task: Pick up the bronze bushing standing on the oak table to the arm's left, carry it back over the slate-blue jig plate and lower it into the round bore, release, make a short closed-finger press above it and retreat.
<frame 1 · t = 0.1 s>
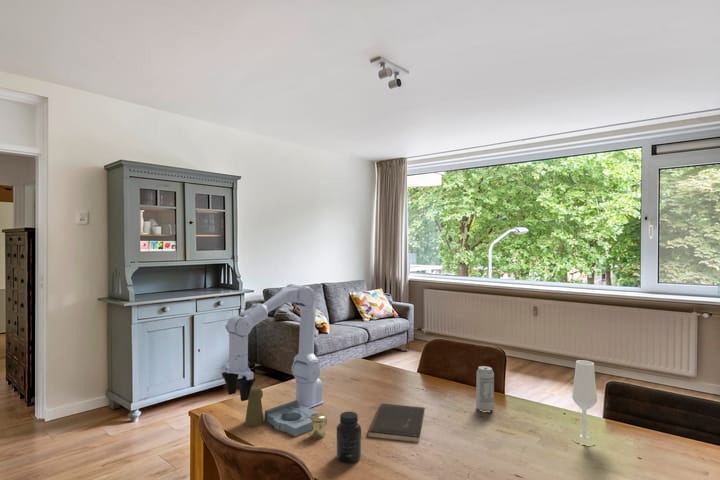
hand: (238, 397, 137), 10 cm above the table, fingers open, 7 cm apart
olive green tapered piece: (254, 423, 142), on the table
energy drink can: (484, 410, 154), on the table
jig: (295, 422, 142), on the table
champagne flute: (583, 442, 131), on the table
bushing: (318, 435, 133), on the table
hardcover book: (397, 426, 142), on the table
supplement bottle: (348, 458, 120), on the table
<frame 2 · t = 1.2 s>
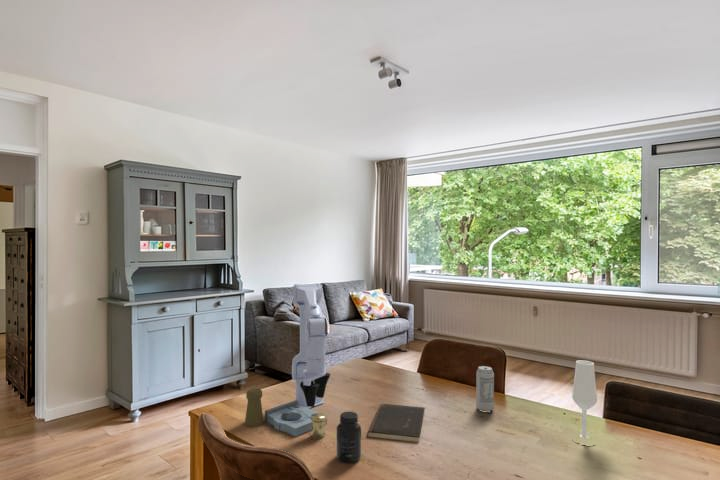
hand: (315, 401, 133), 10 cm above the table, fingers open, 7 cm apart
nothing on the table moved.
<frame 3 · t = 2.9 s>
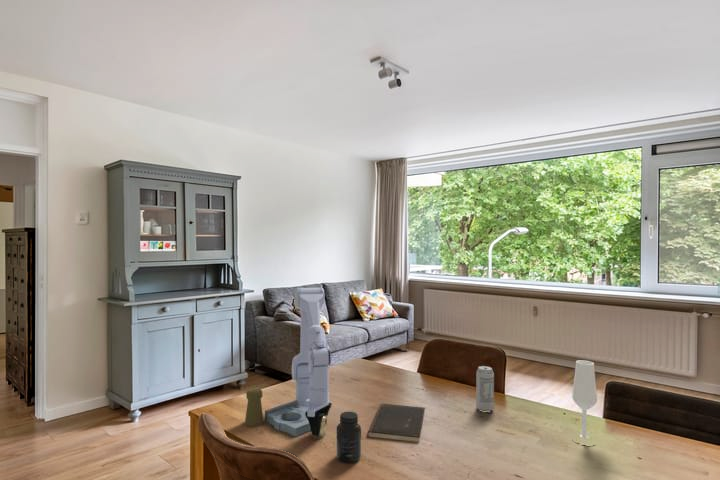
hand: (318, 431, 133), 1 cm above the table, fingers closed on bushing, 5 cm apart
bushing: (318, 435, 133), on the table, touching gripper
everything else where it was.
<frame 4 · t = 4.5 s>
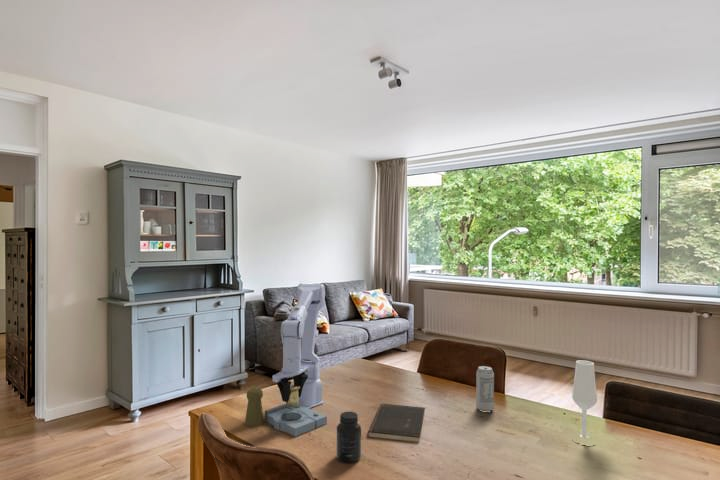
hand: (291, 398, 141), 8 cm above the table, fingers closed on bushing, 5 cm apart
bushing: (292, 405, 140), point 7 cm above the table, tilted 9°, touching gripper
everything else where it was.
when the fingers open (3 cm above the table, at t = 6.3 s): bushing drops 1 cm, resting in jig.
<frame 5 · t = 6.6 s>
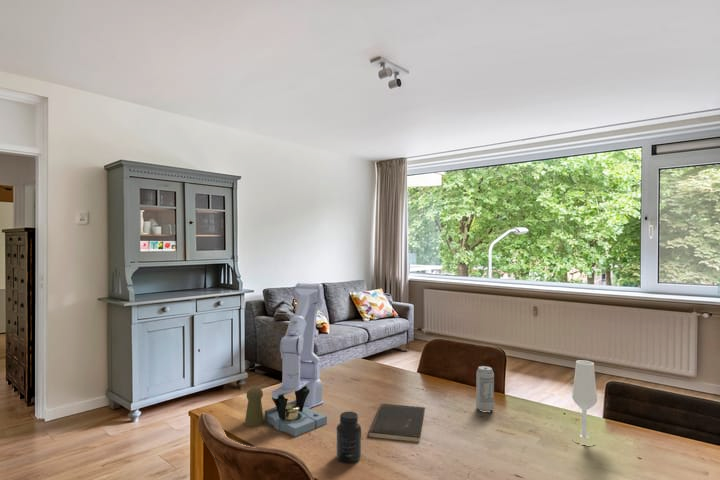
hand: (290, 414, 141), 3 cm above the table, fingers open, 7 cm apart
bushing: (291, 425, 140), resting in jig
everything else where it was.
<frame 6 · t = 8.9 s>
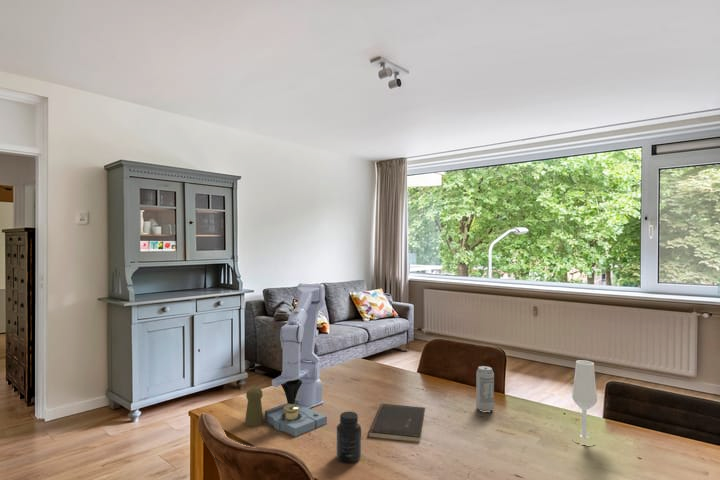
hand: (291, 403, 141), 7 cm above the table, fingers closed
nothing on the table moved.
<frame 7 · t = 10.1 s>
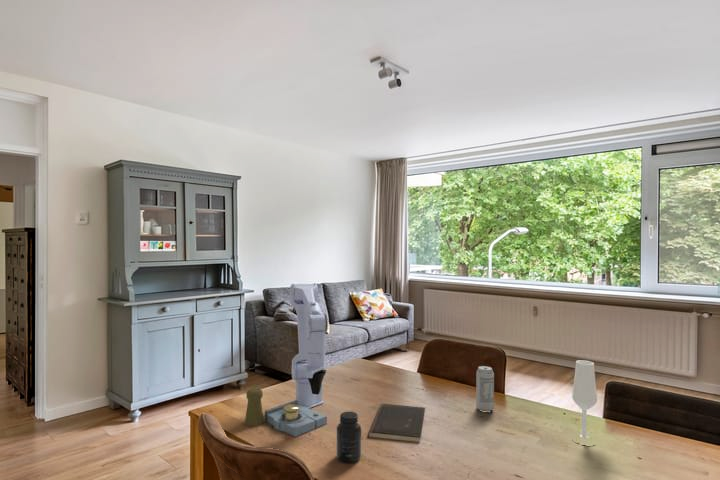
hand: (315, 393, 140), 10 cm above the table, fingers closed
nothing on the table moved.
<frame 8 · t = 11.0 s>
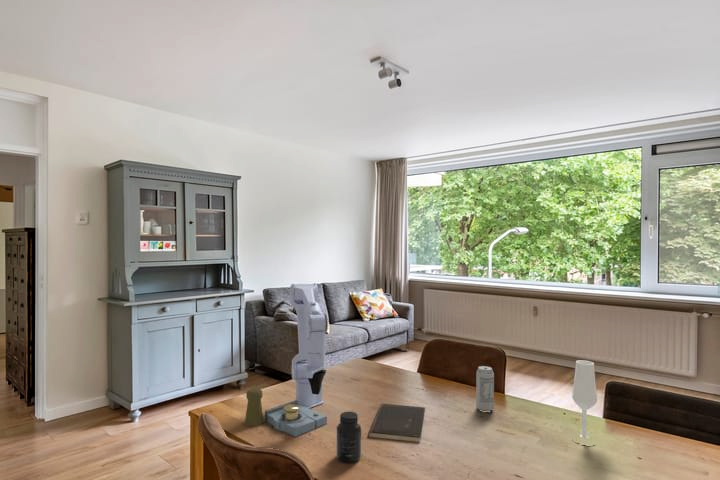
hand: (315, 393, 140), 10 cm above the table, fingers closed
nothing on the table moved.
at the end: bushing 1.0 cm from the target spot on the jig, point 0.0 cm above the jig's base; bushing tilted 0°; the gripper is holding nothing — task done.
